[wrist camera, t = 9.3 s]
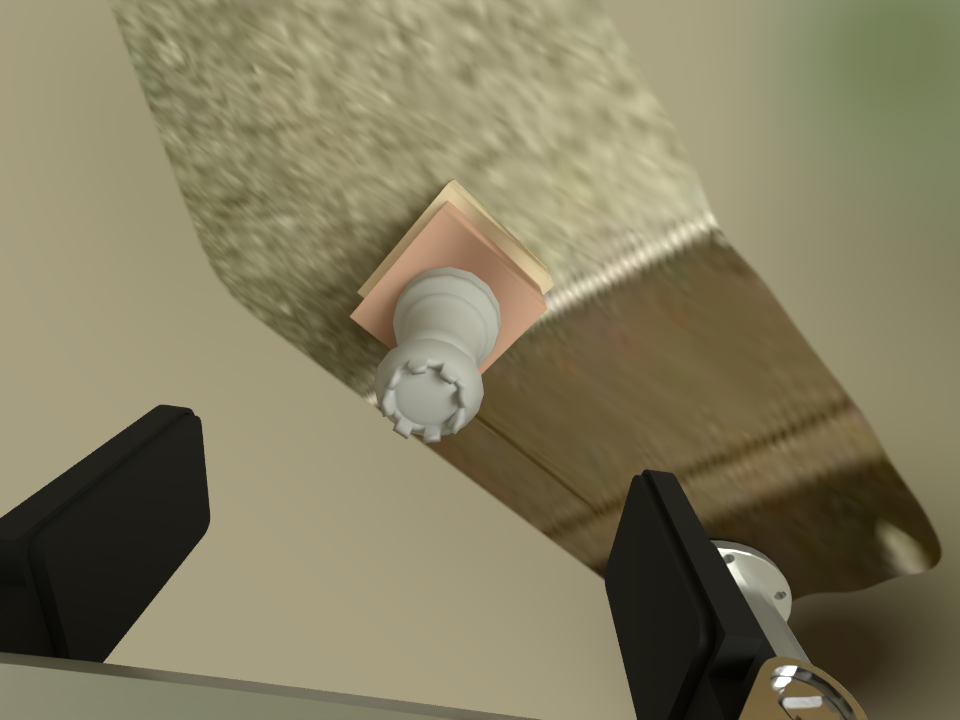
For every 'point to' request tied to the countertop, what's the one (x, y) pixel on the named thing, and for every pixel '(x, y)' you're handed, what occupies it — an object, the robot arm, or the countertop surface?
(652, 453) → the countertop surface
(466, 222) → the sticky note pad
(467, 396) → the rook chess piece
